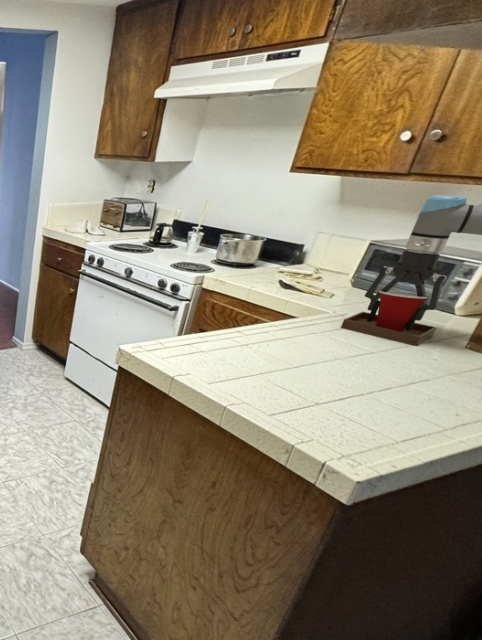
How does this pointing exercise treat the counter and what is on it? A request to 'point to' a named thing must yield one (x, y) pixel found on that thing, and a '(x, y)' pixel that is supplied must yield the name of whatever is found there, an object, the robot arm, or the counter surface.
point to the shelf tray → (409, 337)
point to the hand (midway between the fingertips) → (388, 325)
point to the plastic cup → (397, 309)
